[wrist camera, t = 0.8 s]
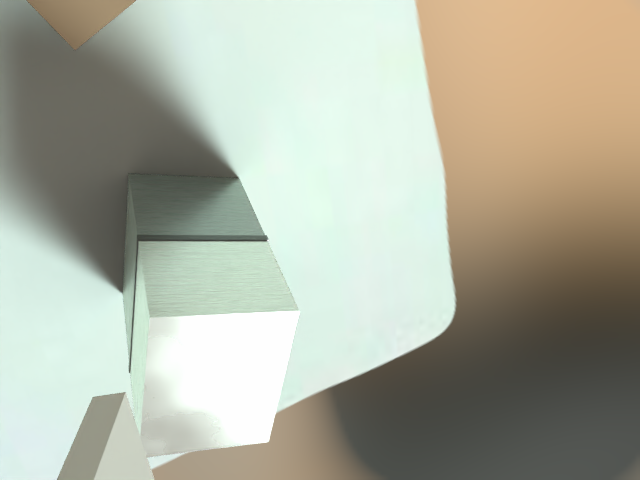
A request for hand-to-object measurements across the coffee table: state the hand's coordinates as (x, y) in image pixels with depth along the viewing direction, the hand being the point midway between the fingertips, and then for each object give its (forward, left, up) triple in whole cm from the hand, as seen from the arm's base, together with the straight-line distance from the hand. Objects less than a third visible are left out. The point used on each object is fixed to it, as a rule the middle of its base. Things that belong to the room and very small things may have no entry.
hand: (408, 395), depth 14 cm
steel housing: (+2, -9, -22) cm, 24 cm away
